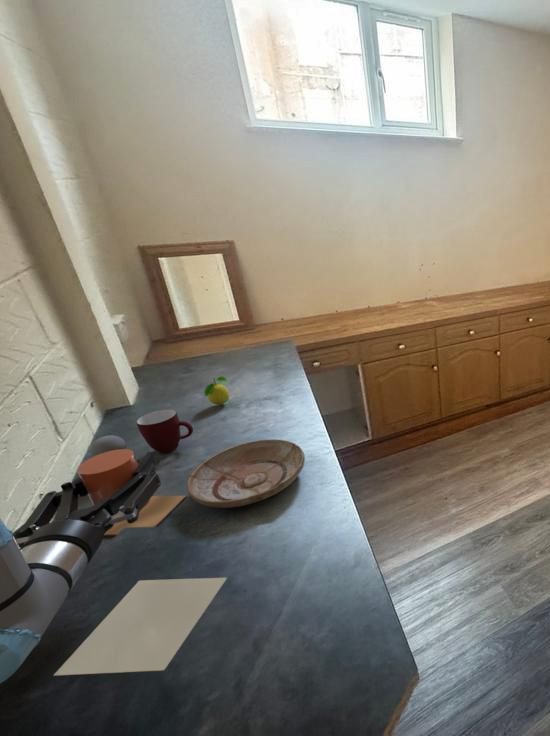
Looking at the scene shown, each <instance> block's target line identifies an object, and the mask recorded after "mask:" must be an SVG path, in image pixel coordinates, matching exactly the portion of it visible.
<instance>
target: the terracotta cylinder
mask: <svg viewBox="0 0 550 736" xmlns="http://www.w3.org/2000/svg"><path fill="white" fill-rule="evenodd" d="M138 465H139V463H138V460H137V458H136V455H135V452H134V451H133V450H131V449H127V448H126V449H118V450H112V451H108V452H105V453H102V454H99V455H96V456H94V457H93V456H92V457H90V458H88V459H86V460H85V461H83V462H82V463H81V464H80V465H79V466H77V469H76V471H77V474H78V477H80V478H81V480H82V482H83V484H84V487H85V489H86V491H87V493H88V494H87V496H88V497H89V499H90V502H91V504H92V506H93V505H95V504H96V503H97V502H99V501H100V500H101V499H107V498H108V497H109V496H111V495H112V494H113V493H114V492H116V491H117V490H118V489H120V488H121V487H122V486H123V485H125V484H126V483H127V482H129V481H130V480H131V479H132V478H134V474H133V472H134V471H135V470H136V468H137V467H138ZM150 499H151V498H150ZM150 499H149V500H148V502H147V503H146V504H145V506H146V505H147V504H148V503H149V502H150ZM145 506H144V507H145ZM144 507H143V508H144ZM143 508H142V509H143ZM119 511H120V510H119ZM119 511H118V512H119Z"/></svg>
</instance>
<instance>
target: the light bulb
mask: <svg viewBox="0 0 550 736" xmlns="http://www.w3.org/2000/svg"><path fill="white" fill-rule="evenodd" d="M118 449H127V444H126V441H125V439H123V438H122V437H120V436H117V435H109V434H108V435H104V436H101V437H99V438H97V439H96V440H95V441H94V442H93V443H92V444H91V447H90V454H91V456H92V457H94V456H96V455H99V454H102V453H105V452H108V451H112V450H118Z"/></svg>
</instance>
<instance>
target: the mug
mask: <svg viewBox="0 0 550 736" xmlns="http://www.w3.org/2000/svg"><path fill="white" fill-rule="evenodd" d="M136 425H137V429H138V431H139V433H140V434H141V436H142V437H143V439H144V440H145V442H146V444H147V445H148V446H149V447H150V448H151V449H152V450H153V451H156V452H157V453H159V454H167V453H170V452H172V451H175V450H176V449H177V448H178V446H179V443H180V441H181V440H184V439H187V438H189V437H190V436H191V435H192V434H193V432H194V427H193V425H192V424H191V423H190V422H188V421H185V420H181V421H180V418H179V414H178V411H176V410H175V409H172V408H171V409H170V408H167V409H159V410H154V411H151V412H148V413H146V414H144V415H142V416H140V417H139V418H137V420H136ZM181 426H182V427H185V428H186V429H187V431H188V432H187V433H186V434H184V435H183V434H182V435H181Z"/></svg>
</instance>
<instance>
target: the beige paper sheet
mask: <svg viewBox="0 0 550 736" xmlns="http://www.w3.org/2000/svg"><path fill="white" fill-rule="evenodd" d="M227 579H228V577H203V578H202V577H201V578H173V579H169V578H168V579H143V580H138V581H137V582H136V584H134V585H133V587H132V588H131V589H130V590H129V591H128V592H127V593H126V595H124V596H123V598H122V599H121V600H120V601H119V602H118V603H117V604H116V606H115V607H113V609H112V610H111V611H110V612H109V613H108V614H107V616H105V618H104V619H102V621H101V622H100V623H99V624H98V625H97V626H96V628H95V629H94V630H93V631H92V632H91V633H90V634H89V635H88V636H87V637H86V639H84V641H83V642H82V643H80V645H79V646H78V647H77V649H76V650H75V651H74V652H73V653H72V654H71V655H70V656H69V657H68V658H67V660H65V662H64V663H63V664H62V665H61V666H60V667H59V668H58V669H57V671H56V672H54V674H53V677H57V676H76V675H77V676H78V675H98V674H99V675H100V674H119V673H139V672H140V673H142V672H161V671H162V672H163V671H165V670H166V668H167V667H168V666H169V664H170V662H171V661H172V660H173V658H174V657H175V655H176V654H177V652H179V650H180V648H181V646H182V645H183V644H184V642H185V641H186V639H187V638H188V637H189V635H190V633H191V632H192V630H193V629H194V627H195V626H196V625H197V623H198V622H199V620H200V619H201V618H202V616H203V614H204V613H205V611H206V610H207V609H208V607H209V605H210V604H211V603H212V601H213V600H214V598H215V597H216V595H217V594H218V592H219V591H220V589H221V588H222V586H223V585H224V584H225V582H226V581H227Z"/></svg>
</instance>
